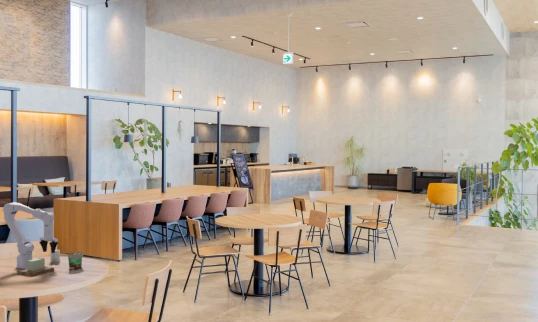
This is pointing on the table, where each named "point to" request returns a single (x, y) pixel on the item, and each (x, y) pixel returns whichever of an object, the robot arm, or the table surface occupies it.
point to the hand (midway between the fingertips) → (49, 252)
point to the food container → (75, 261)
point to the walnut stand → (36, 272)
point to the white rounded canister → (55, 256)
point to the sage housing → (36, 264)
